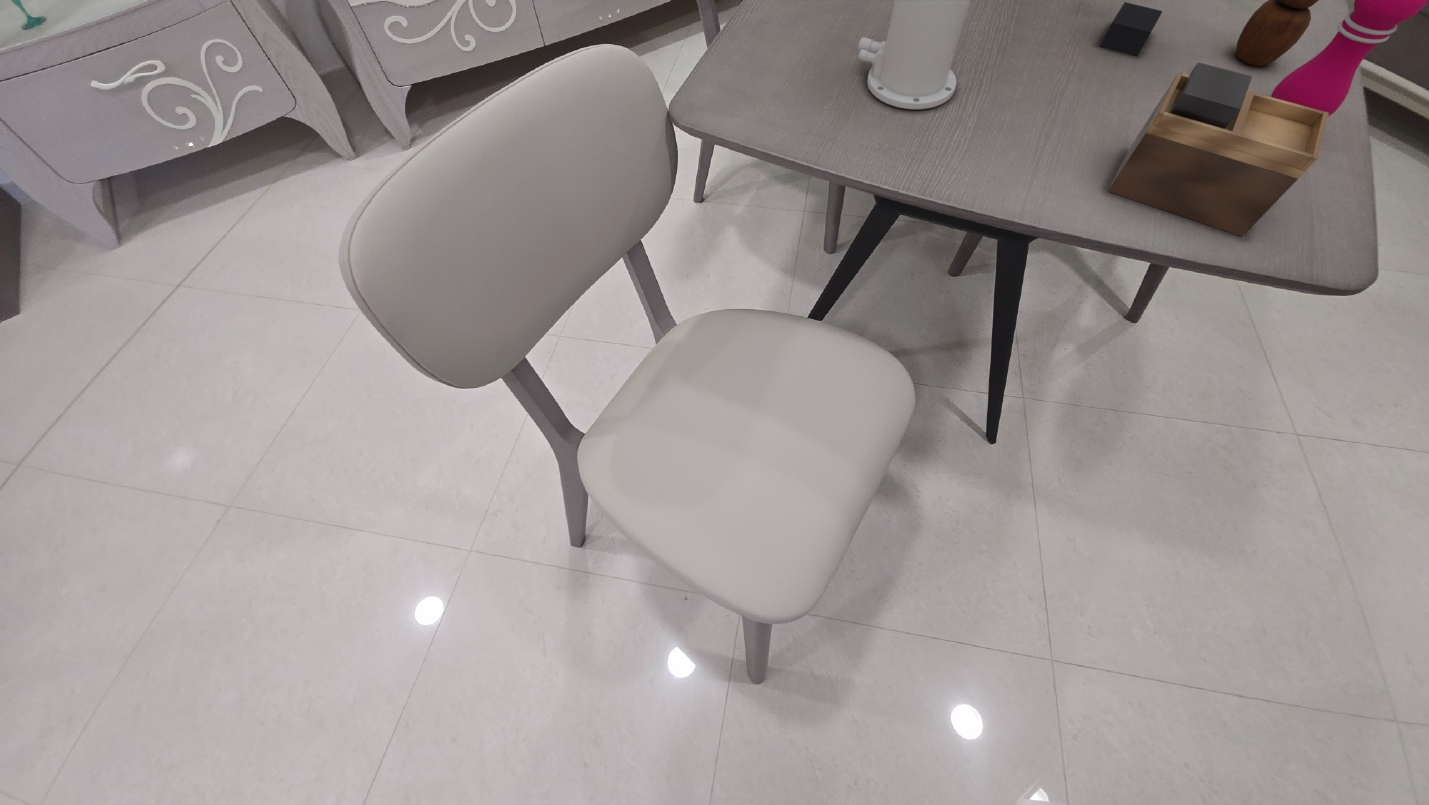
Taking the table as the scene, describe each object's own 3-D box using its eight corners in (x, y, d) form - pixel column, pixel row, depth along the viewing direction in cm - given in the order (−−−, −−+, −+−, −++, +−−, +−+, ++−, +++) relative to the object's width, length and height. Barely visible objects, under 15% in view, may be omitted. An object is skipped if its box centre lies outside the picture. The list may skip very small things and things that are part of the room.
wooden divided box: (1107, 191, 74) (1170, 94, 63) (1127, 151, 77) (1189, 54, 67) (1242, 237, 69) (1335, 140, 58) (1256, 192, 73) (1345, 94, 62)
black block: (1099, 46, 91) (1112, 21, 88) (1112, 25, 94) (1124, 1, 91) (1137, 56, 89) (1151, 31, 86) (1148, 35, 92) (1162, 10, 89)
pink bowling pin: (1257, 106, 82) (1395, -68, 65) (1316, 124, 79) (1476, -51, 62) (1242, 131, 79) (1382, -43, 62) (1303, 152, 76) (1466, -24, 59)
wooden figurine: (1218, 52, 89) (1299, -67, 76) (1247, 43, 90) (1332, -76, 77) (1255, 75, 85) (1346, -46, 73) (1285, 66, 86) (1381, -55, 74)
